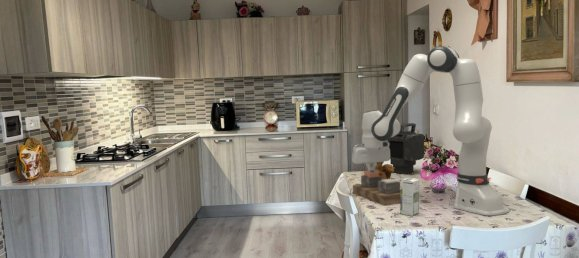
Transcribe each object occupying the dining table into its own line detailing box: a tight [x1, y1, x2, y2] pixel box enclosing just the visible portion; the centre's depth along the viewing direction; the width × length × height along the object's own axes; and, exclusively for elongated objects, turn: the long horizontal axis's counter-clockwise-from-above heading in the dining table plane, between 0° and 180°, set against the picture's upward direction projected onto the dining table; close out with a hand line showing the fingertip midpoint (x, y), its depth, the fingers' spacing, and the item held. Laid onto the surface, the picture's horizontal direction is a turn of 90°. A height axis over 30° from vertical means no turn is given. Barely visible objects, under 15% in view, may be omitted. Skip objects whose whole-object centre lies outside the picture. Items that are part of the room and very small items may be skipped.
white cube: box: [381, 178, 398, 183], centre depth 202 cm, size 5×5×5 cm
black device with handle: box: [387, 122, 425, 175], centre depth 264 cm, size 15×18×30 cm
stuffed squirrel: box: [370, 161, 394, 180], centre depth 242 cm, size 10×14×13 cm
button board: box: [352, 174, 401, 206], centre depth 209 cm, size 26×14×9 cm, turn 24°
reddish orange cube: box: [363, 170, 379, 178], centre depth 215 cm, size 5×5×5 cm
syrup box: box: [399, 177, 420, 217], centre depth 181 cm, size 6×6×14 cm
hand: (371, 171), depth 215 cm, fingers closed, pressing on reddish orange cube
